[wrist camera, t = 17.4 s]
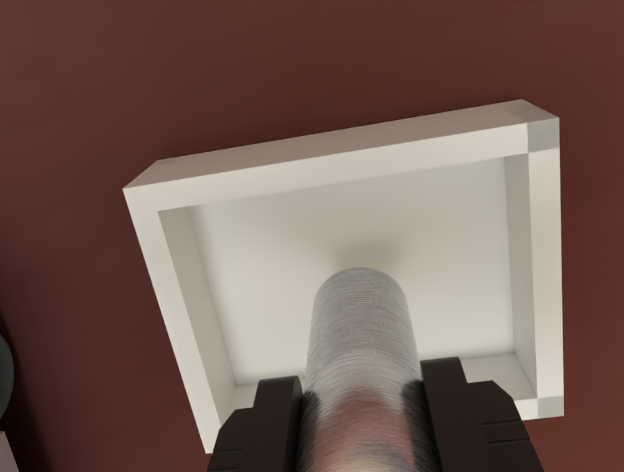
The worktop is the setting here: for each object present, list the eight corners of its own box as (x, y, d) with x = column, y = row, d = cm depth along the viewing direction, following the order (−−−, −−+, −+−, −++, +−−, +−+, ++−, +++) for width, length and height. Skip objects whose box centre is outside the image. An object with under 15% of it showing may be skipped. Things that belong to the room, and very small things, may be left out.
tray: (224, 394, 19) (205, 453, 17) (157, 160, 16) (122, 188, 14) (532, 357, 18) (564, 416, 16) (521, 99, 15) (558, 117, 13)
